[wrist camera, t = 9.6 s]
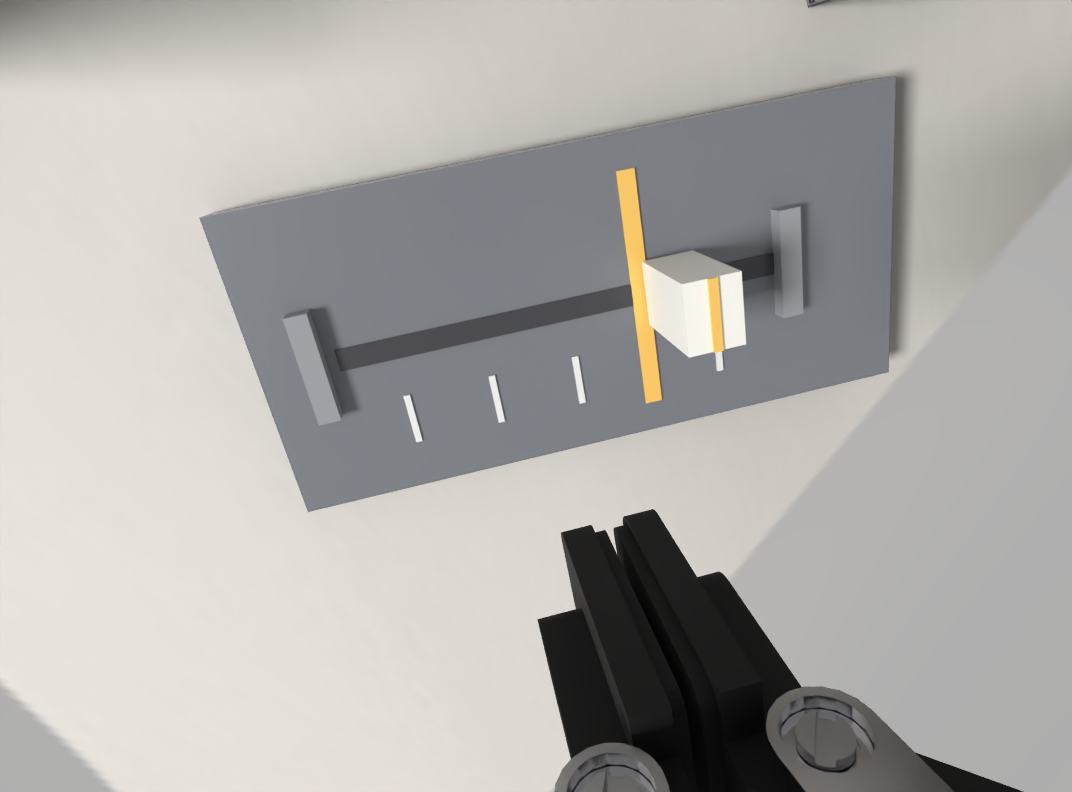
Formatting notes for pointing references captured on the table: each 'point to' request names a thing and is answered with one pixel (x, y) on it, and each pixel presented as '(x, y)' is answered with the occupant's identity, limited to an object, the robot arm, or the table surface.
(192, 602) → the table surface
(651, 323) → the fader
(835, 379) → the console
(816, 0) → the mini dv tape
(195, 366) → the table surface
